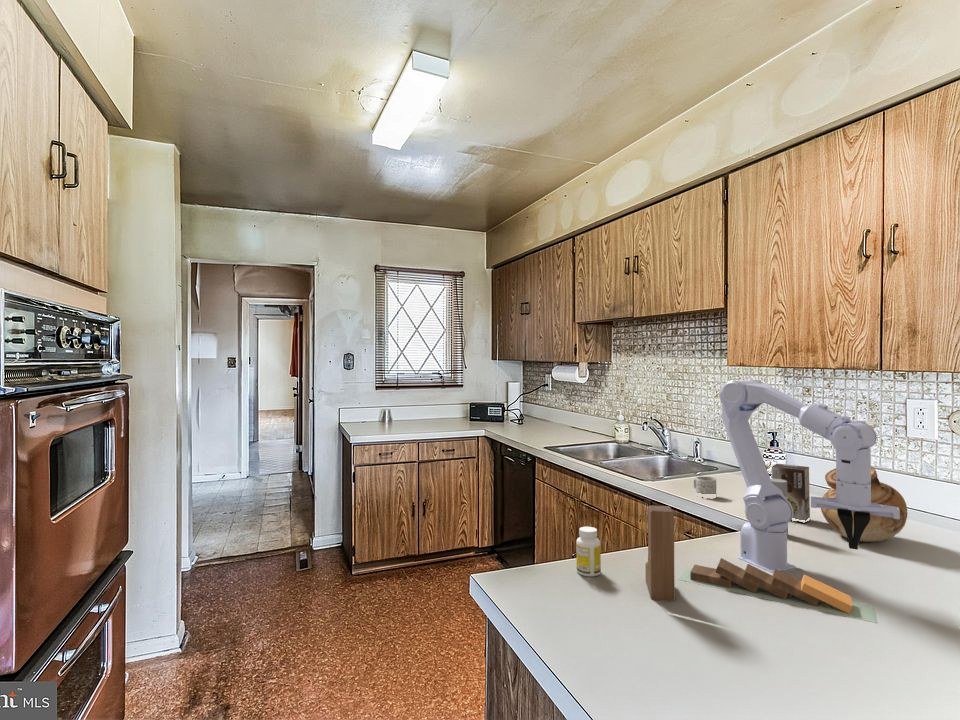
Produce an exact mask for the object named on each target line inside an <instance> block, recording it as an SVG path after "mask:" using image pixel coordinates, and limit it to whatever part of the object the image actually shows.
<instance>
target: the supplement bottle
mask: <svg viewBox="0 0 960 720" xmlns="http://www.w3.org/2000/svg"><path fill="white" fill-rule="evenodd" d="M578 532H579V533H578V535H579V537H577V539H576V543H575V544H576V547H575V549H576V572H577V573H578V574H579V575H581V576H585V577H596V576H597V577H598V576H599V575H601V572H602V571H601V570H602V568H601V565H602V564H601V563H602V561H601V560H602V559H601V541H600V540H599V538H598V529H597V528H596V527H592V526H581V527H579V530H578Z"/></svg>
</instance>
